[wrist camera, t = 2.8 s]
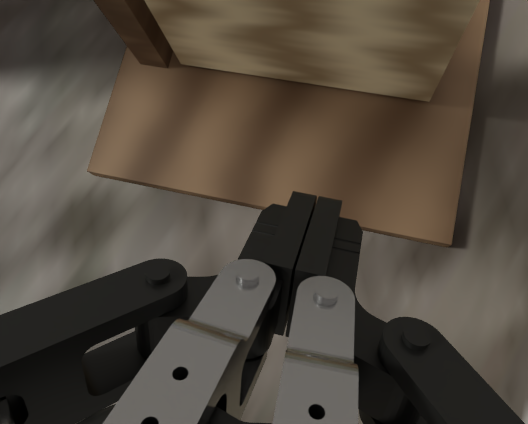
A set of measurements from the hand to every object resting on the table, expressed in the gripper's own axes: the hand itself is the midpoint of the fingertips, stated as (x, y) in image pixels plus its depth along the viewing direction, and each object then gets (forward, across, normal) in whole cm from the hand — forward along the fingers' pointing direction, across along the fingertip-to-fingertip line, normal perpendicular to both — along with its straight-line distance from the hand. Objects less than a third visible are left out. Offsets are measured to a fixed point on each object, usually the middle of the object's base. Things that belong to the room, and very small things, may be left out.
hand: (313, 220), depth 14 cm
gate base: (+18, +5, +2) cm, 19 cm away
